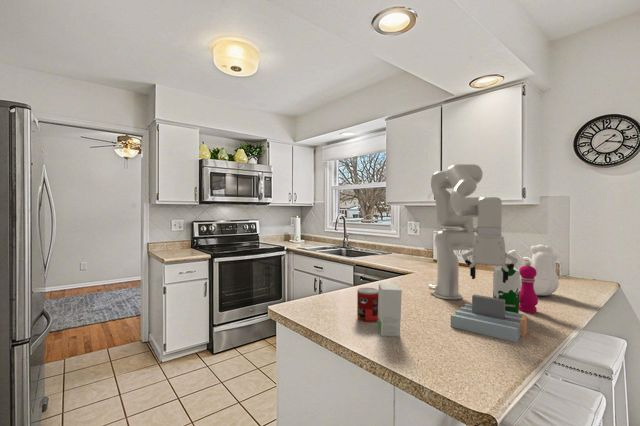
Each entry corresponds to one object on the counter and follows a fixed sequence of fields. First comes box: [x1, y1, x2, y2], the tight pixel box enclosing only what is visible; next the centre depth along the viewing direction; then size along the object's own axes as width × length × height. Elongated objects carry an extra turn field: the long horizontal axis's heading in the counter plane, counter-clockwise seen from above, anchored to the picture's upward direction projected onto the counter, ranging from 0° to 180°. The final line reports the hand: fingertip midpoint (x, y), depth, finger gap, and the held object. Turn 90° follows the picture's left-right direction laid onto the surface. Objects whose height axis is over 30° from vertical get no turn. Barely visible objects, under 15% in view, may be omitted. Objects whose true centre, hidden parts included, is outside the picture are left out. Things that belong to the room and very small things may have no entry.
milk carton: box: [492, 264, 520, 314], centre depth 124 cm, size 9×9×20 cm
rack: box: [450, 303, 528, 343], centre depth 110 cm, size 21×18×6 cm
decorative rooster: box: [498, 244, 560, 296], centre depth 156 cm, size 25×16×25 cm, turn 35°
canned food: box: [356, 287, 379, 323], centre depth 117 cm, size 8×8×11 cm
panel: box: [471, 294, 505, 320], centre depth 111 cm, size 10×2×9 cm, turn 49°
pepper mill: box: [519, 261, 539, 314], centre depth 128 cm, size 7×7×20 cm
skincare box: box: [377, 282, 403, 338], centre depth 105 cm, size 8×7×16 cm
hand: (488, 280), depth 110 cm, fingers open, 9 cm apart
